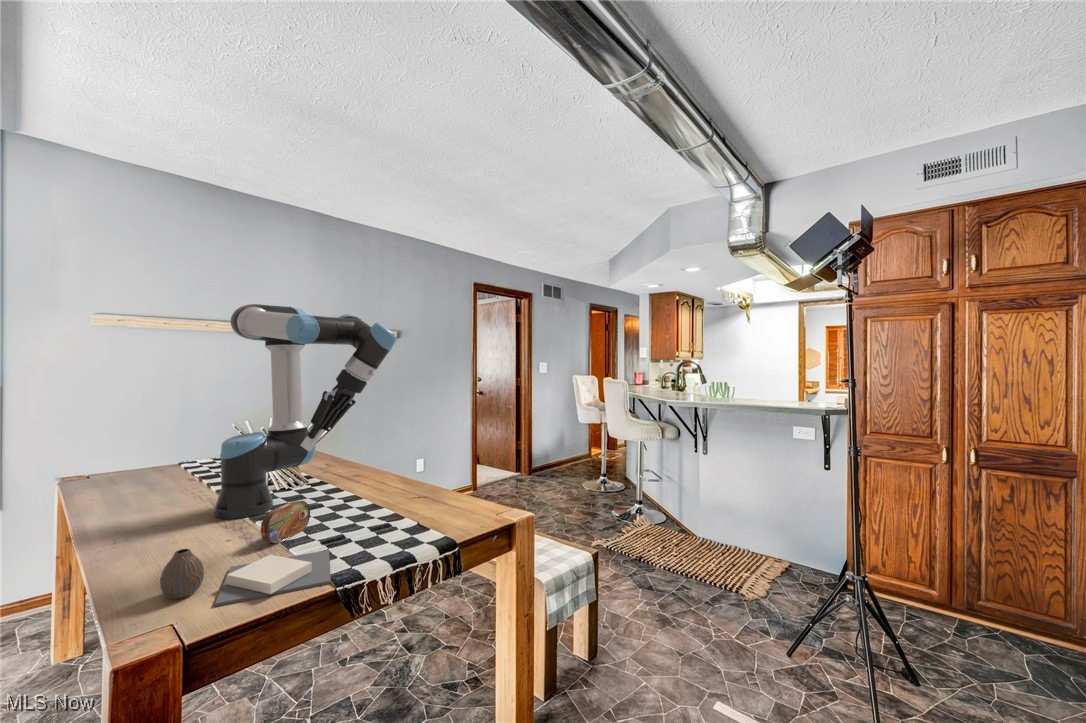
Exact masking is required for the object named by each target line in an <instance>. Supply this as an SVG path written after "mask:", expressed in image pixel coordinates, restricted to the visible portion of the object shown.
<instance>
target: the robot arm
mask: <svg viewBox="0 0 1086 723" xmlns="http://www.w3.org/2000/svg"><path fill="white" fill-rule="evenodd" d="M230 326H231V328H232V330H233V331H234V333H235V334H236V335H237V336H239V337H241V338H244V339H247V340H252V341H264V343H265V344H264V346H265V348H266V349H267V350H268V351H269V352H270V360H271V361H270V368H271V371H270V372H271V394H272V395H271V396H272V397H271V398H272V402H271V403H272V425H271V426H269V428H268V429H267V435H266V433H265V432H260V431H259V432H258V431H257V432H255V431H254V432H251V433H249V432H248V433H243V434H238V435H235V436H231V437H229V438H227V439H226V440H224V441H223V442H222V444H221V449H220V451H221V452H220V455H219V457H220V477H221V478H220V482H221V484H220V485H221V487H220V491H219V495H218V498H217V501H216V503H215V506H214V512H213V513H214V517H215V518H217V519H222V520H223V519H225V520H229V519H231V520H233V519H241V518H242V519H243V518H247V517H252V515H253V516H257V515H259V514H263V513H266V512H269V510H271V509H272V508H273V506H274V504H273V503H274V502H273V497H272V494H271V492H270V489H269V487H268V484H267V473H270V472H277V471H280V470H286V469H290V468H297V467H299V466H300V467H301V466H304V465H306V464H308V463H309V462H310V461H311V460H312V459H313V458H314V455H315V453H316V448H317V443H318V442H319V440H320V438H321V437H322V435H323V434H324V432H325V431H326V432H330V431H331V429H333V428H334V427H335V426H336V424H337V423H338V422H339V421H340V420H341V419H342V418H343V416H344V415H345V414H346V413H347V412H349V410H350V408H352V407H353V406H354V405H355V404H356V403H357V401H356V400H355V399H354V397H355V395H356V394H361V393H362V392H363V390H364V389H365V387H366V386H367V385H368V382H369V381H370V380H371V378H372V377H373V376H374V375H375V373H376V371H377V370H378V368H379V367H380V365H381V364H382V363H383V361H384V360H385V358H386V357H387V355H388V354H389V353H390V351H392V349H393V346H394V345H395V343H396V341H397V339H398V336H397V334H396V333H394V332H393V331H391V330H389V329H388V328H386V327H385V326H384V325H382V324H380V323H379V322H375V323H374V324H373V325H372V326H371V325H370V324H368V323H366V322H365V321H363V320H362V319H361V318H360V317H358V316H355V315H354V314H350V313H346V314H343V315H340V316H339V317H336V316H334V317H333V316H323V315H311V314H308V313H307V312H306V311H305V310H303V309H301V308H298V307H292V306H285V305H284V306H282V305H281V306H279V305H269V304H268V305H267V304H261V303H259V304H258V303H254V304H253V303H251V304H246V305H242V306H240V307H238V308H237V309H235V310H234V311H233V313H232V315H231V317H230ZM311 344H312V345H313V344H314V345H347V346H352V347H353V348H355V349H356V350H354V352H353V354H352V355H351V357H350V358H349V359H348V360H347V362H346V363H345V365H344V368H343V369H341V371H340V372H339V374H338V375H337V376H336V379H335V381H336V382H337V384H336V385H335V386H334V387H333V388H332V389H331V391H326V390H324V392H322V396H321V400H320V401H319V404H318V406H317V407H316V410H315V412H314V414H312V417H311V420H310V423H311V424H312V425H313V426H312V428H311V429H310V430H309V429H308V424H306V423H305V422H304V421H303V402H302V401H303V399H302V373H301V371H302V368H301V351H302V350H303V349H304V348H305V346H306V345H311ZM367 381H368V382H367Z"/></svg>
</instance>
